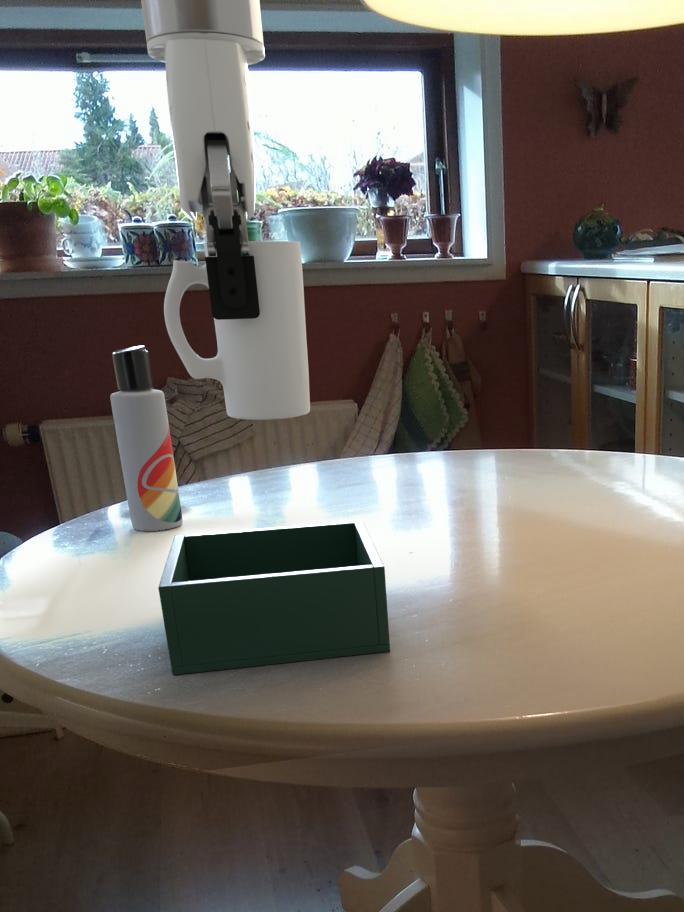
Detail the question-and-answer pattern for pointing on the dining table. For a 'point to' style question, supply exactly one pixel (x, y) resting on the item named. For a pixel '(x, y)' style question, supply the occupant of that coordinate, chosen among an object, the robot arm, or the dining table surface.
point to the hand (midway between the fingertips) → (236, 315)
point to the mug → (253, 337)
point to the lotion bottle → (144, 443)
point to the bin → (273, 596)
